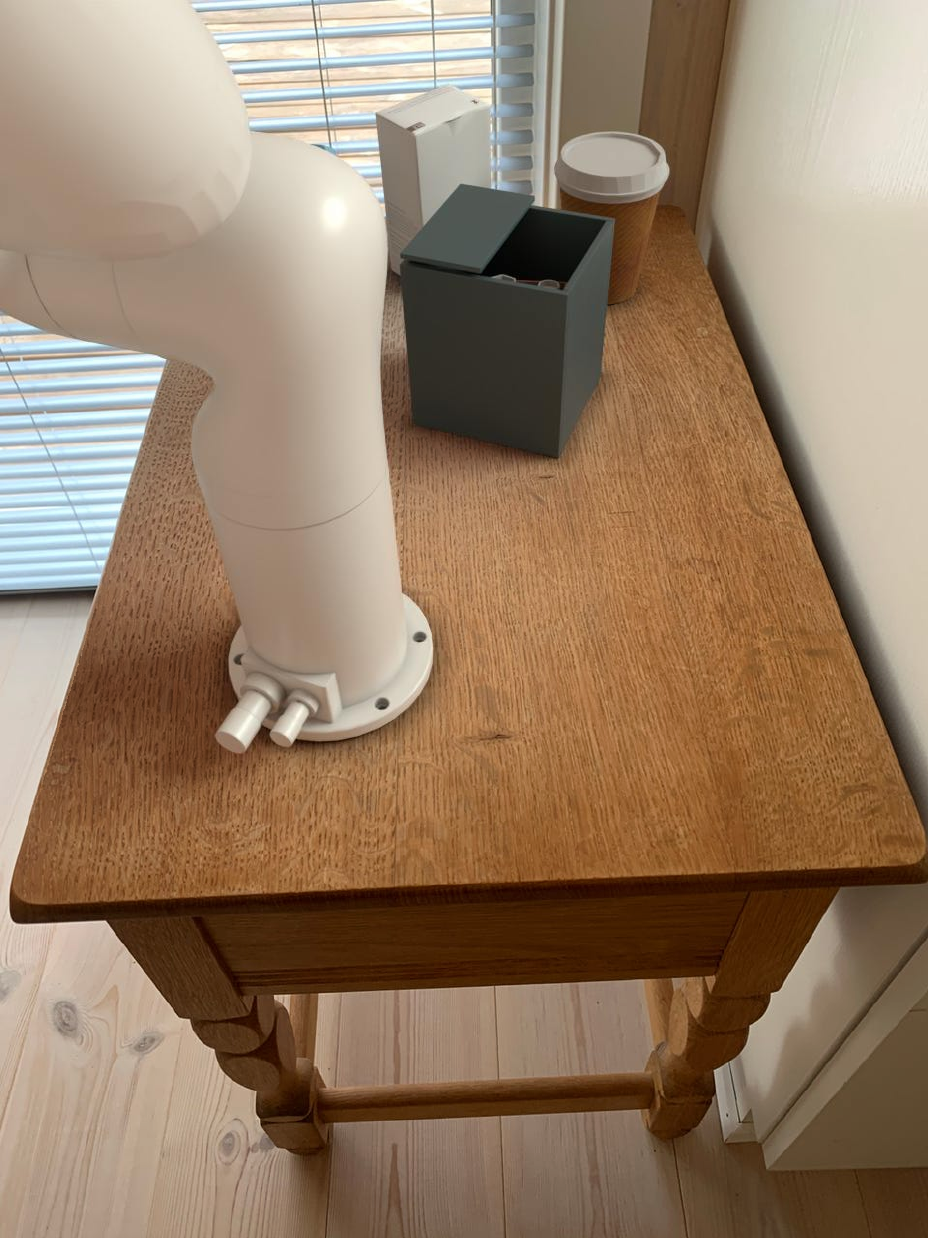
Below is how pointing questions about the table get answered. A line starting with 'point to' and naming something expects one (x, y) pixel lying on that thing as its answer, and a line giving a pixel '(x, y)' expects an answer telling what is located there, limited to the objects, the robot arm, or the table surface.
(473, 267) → the flap
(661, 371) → the table surface
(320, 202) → the robot arm
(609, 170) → the disposable coffee cup
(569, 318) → the carton
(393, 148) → the cosmetic box
